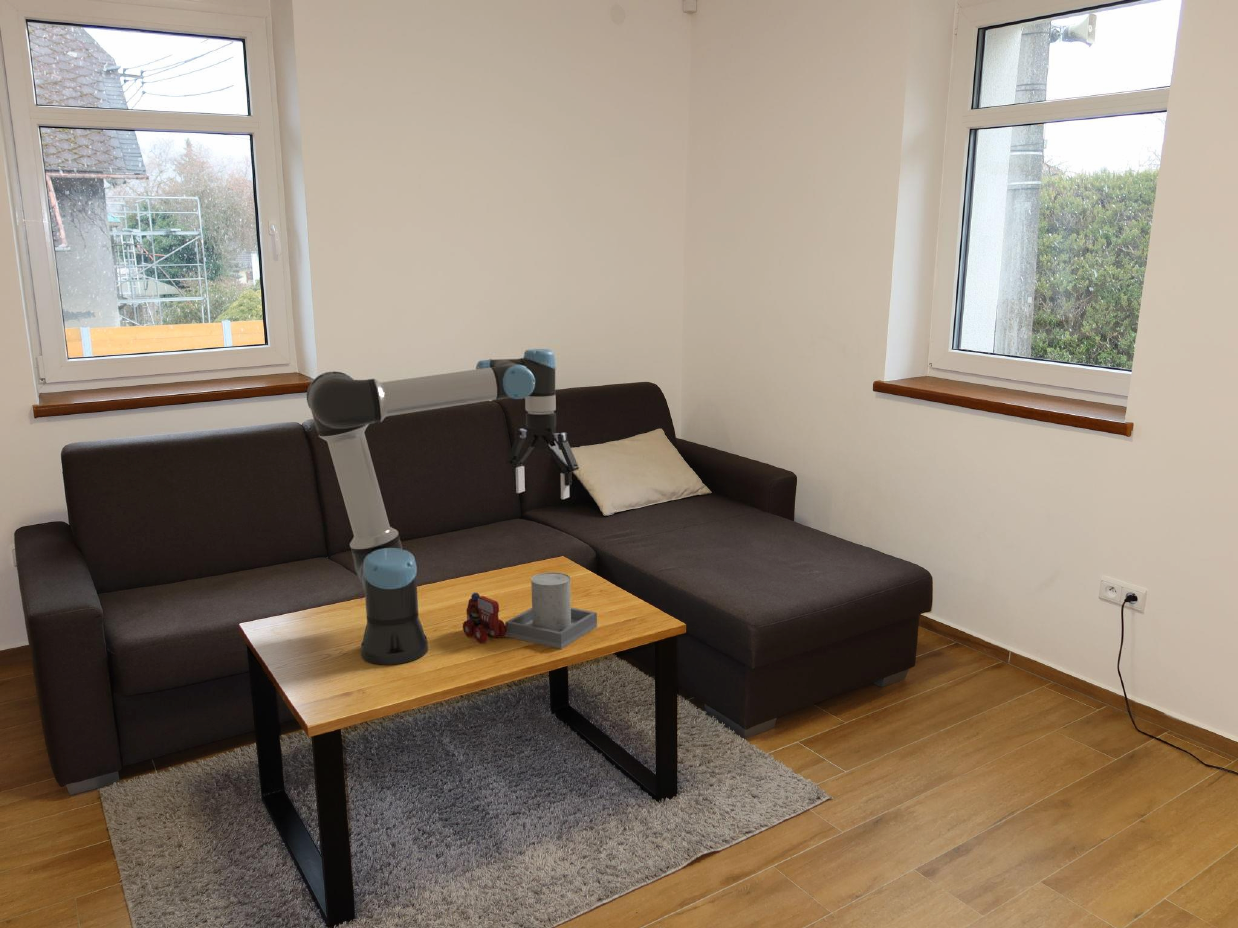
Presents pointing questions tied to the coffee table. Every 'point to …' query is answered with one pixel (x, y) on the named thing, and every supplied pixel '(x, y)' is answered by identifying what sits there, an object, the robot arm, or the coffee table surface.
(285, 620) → the coffee table surface
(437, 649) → the coffee table surface
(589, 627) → the tray
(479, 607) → the toy fire truck
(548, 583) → the grey speckled cylinder
